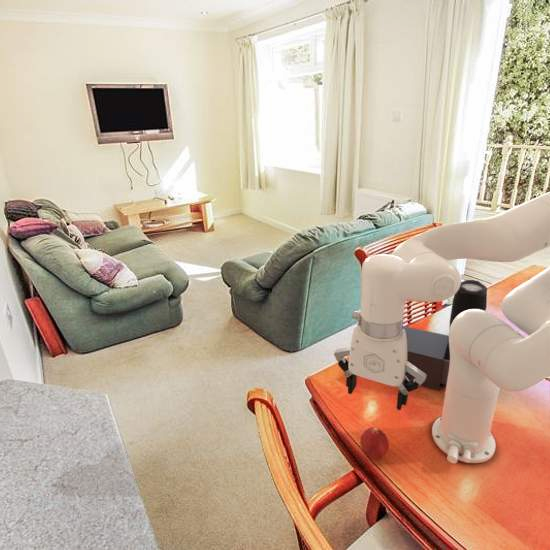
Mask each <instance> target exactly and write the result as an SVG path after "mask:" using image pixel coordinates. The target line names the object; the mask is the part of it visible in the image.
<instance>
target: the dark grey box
mask: <svg viewBox="0 0 550 550" xmlns="http://www.w3.org/2000/svg"><path fill="white" fill-rule="evenodd" d="M402 329H404V330H405V332H406V338H407V361H408V362H410V363H411V364H413V365H414V366H415V367H417V368H418V369H420V370H421V371H423V372H424V373H425V374H426V375H427V376H426V379H425V381H424V382H423V383H422V384H421V385H420V386H422V387H424V388H429V389H432V390H435V391H439V390H440V386H441V383H440V378H441V371H442V364H443V359H444V355H445V352H446V348H447V345H448V342H449V335H448V334H443V333H437V332H433V331H429V330H424V329H419V328H415V327H409V326H404V325H403V328H402ZM405 375H406V377H407V378H408V379H409V381H410V380H412V379H414V378H415V377H414V376H412V375H411V374H409V373H408V372H407V371H406V373H405Z"/></svg>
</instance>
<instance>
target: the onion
mask: <svg viewBox="0 0 550 550" xmlns="http://www.w3.org/2000/svg"><path fill="white" fill-rule="evenodd" d="M389 442H390V441H389V440H388V437H387V435H386V433H384V431H383V430H381V429H380V428H378V427H369V428H367V429H365V430H364V431H363V433H362V434H361V436H360V443H359V444H360V448H361V450H362V452H363V454H365V455H366V456H367V457H369V458H370V459H375V460H377V459H378V460H379V459H381V458H383V457H385V455H386V454H387V453H388V451H389V446H390V443H389Z"/></svg>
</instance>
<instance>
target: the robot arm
mask: <svg viewBox="0 0 550 550" xmlns="http://www.w3.org/2000/svg"><path fill="white" fill-rule="evenodd" d="M548 248H550V191H548V192H545V193H544V194H541V195H539V196H537V197H535V198H532V199H530V200H528V201H525V202H523V203H521V204H519V205H517V206H514V207H512V208H510V209H507V210H506V211H503V212H500V213H499V214H496V215H493V216H490V217H487V218H478V219H471V220H466V221H459V222H453V223H448V224H443V225H440V226H435V227H433V228H430V229H428V230H426V231H423V232H421V233H419V234H417V235H414V236H412V237H410V238H407V239H406V240H405V241H403V242H401V243H399V245H397V246H396V247H395V249H394V250H393V251H392V253H391V254H386V253H385V254H383V253H381V254H374V255H370V256H368V257H367V258H365V260H364V261H363V262H362V266H361V279H360V300H359V301H360V303H359V310H357V311H355V310H353V311H352V313H351V318H352V319H355V320H357V324H355V326H354V328H353V332H352V336H351V341H350V345H349V346H348V347H343V348H337V349H336V350H335V351H334V353H333V355H334V358H335V360H336V362H337V365H338V367H339V368H340V369H341V370H342V372H343V375H344V376H345V385H346V387H347V394H349V395H351V394H353V393H354V391H355V388H356V387H357V379H358V378H359V377H360V378H364V379H366V380H370V381H372V382H375V383H376V382H377V383H379V384H383V385H386V386H390V387H395V388H398V393H397V399H396V400H397V401H396V410H397V411H402V407H403V406H407V403H408V397H409V393H410V392H413V391H415V390H417V389H419V387H420V386H421V384H422V383H423V382H424V381H425V379H426V376H427V375H426V374H425V373H424V372H423V371H421V370H420V369H418V368H417V367H415V366H414V365H413V364H411V363H410V362H408V361H407V338H406V332H405V330H404V329H402V328H403V326H404V317H405V309H406V308H405V306H406V302H407V301H408V302H422V303H439V302H443V301H446V300H448V299H451V298H452V297H454V295H455V293H456V292H457V291H458V290H459V288H460V285H461V282H462V276H461V273H460V271H459V270H458V268H457V267H456V266H455V265H454V264H453V263H452V262H451V261H452V260H463V259H467V260H478V261H485V262H494V263H495V262H496V263H515V262H518V261H520V260H523V259H525V258H527V257H529V256H532V255H534V254H535V253H538V252H540V251H543V250H544V249H548ZM500 309H501V312H502V314H503V315H504V317H505V318H506V319H507V321H509V322H510V323H511V324H512V325H514V326H515V327H517V328H518V329H519V330H520V331H521V332H523V333H525V334H526V335H527V336H526V337H525V336H524V335H522V334H521V333H520V332H519V331H517V330H515V328H513V327H512V326H511V325H509V324H508V323H507V322H505V321H504V320H502V319H501V318H500V317H497V316H496V315H495V314H493V313H491V312H489V311H487V310H486V311H484V310H480V309H469V310H466V311H463V312H461V313H460V314H459V315H457V316H456V317H455V319H454V320H453V322H452V324H451V326H450V325H449V330H450V331H449V332H448V336H449V349H450V365H449V373H448V378H447V385H445V392H444V398H443V406H442V410H441V411H442V412H441V416H440V417H438V418H437V419H436V420H434V422H433V424H432V426H431V436H432V439H433V441H434V443H435V444H436V446H437V447H438V448H439V449H440V450H441V451H442V452H443V453H445V454H446V455H447V456H446V460H447V461H448V463H450V464H454V465H455V464H457V463H458V461H460V462H463V463H466V464H480V463H485V462H487V461H489V460H490V459H491V458H492V457H493V456H494V454H495V452H496V447H497V445H496V440H495V437H494V436H493V434H492V433H491V429H492V425H493V421H494V417H495V413H496V408H497V404H498V400H499V395H500V391H501V390H503V391H506V392H513V393H514V392H520V391H521V392H522V391H524V390H527V389H530V388H531V387H533V386H535V385H537V384H539V383H541V382H542V381H544V380H546V379H547V378H549V377H550V266H549V267H547V268H546V269H544V270H543V271H541V272H539V273H538V274H536V275H535V276H533V277H531V278H530V279H528V280H527V281H525V282H523V283H522V284H520V285H518V286H517V287H515V288H514V289H512V290H511V291H510V292H509V293H508V294H506V295H505V296H504V297H503V298H502V301H501V304H500ZM346 357H348V359H346ZM406 371H407V372H408V373H409V374H411V375H412V376H414V377H415V378H414V379H412V380H410V381H409V379H408V378H407V377H406V375H405V373H406Z"/></svg>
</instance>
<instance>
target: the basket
mask: <svg viewBox="0 0 550 550" xmlns="http://www.w3.org/2000/svg"><path fill="white" fill-rule="evenodd" d="M449 365H450V349H449V342H448V345H447V348H446V352H445V355H444V359H443V364H442V371H441V378H440V385H445V386H446V385H447V378H448V373H449Z"/></svg>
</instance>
